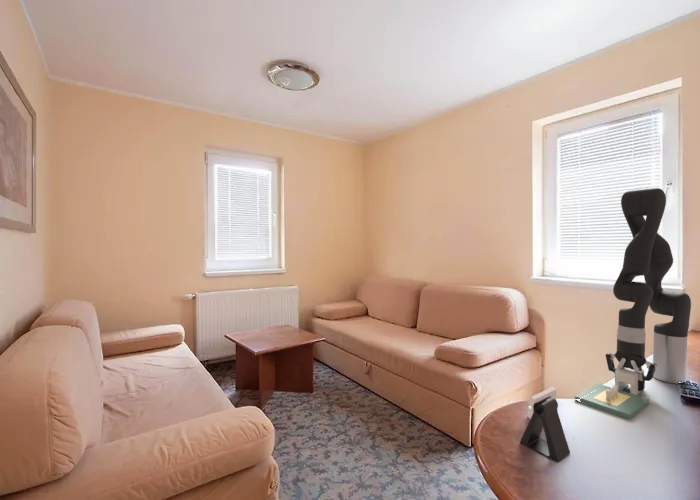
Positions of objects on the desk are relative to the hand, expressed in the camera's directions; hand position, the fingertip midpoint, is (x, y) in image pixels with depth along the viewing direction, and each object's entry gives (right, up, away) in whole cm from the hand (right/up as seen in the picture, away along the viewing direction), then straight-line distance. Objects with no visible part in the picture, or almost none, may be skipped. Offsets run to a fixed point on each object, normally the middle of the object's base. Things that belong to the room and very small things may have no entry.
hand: (629, 387), depth 117 cm
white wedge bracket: (-43, -1, -21) cm, 47 cm away
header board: (-13, -1, -9) cm, 16 cm away
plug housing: (0, -1, 0) cm, 1 cm away
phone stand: (-49, -1, -34) cm, 60 cm away
